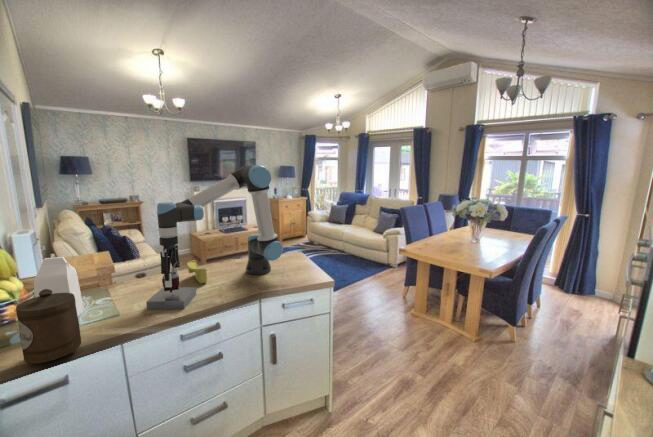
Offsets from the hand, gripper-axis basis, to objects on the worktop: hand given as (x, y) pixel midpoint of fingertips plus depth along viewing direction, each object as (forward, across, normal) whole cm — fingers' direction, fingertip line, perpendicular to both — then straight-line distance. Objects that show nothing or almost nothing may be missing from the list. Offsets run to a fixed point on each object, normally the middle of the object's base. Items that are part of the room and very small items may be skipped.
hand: (172, 283), depth 142 cm
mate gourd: (+3, 0, 0) cm, 3 cm away
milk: (+9, +13, -40) cm, 43 cm away
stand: (+9, 0, 0) cm, 9 cm away
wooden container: (+9, +38, -24) cm, 46 cm away
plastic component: (+9, -29, 0) cm, 30 cm away
